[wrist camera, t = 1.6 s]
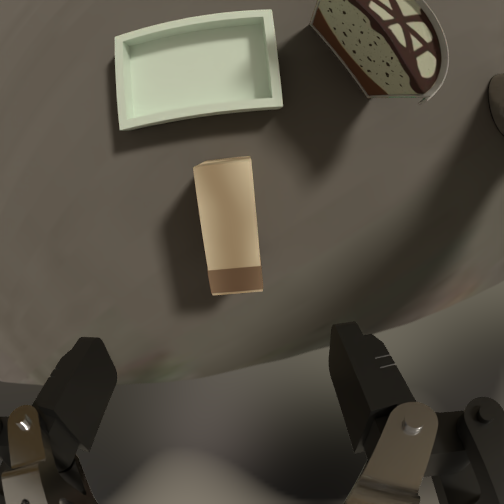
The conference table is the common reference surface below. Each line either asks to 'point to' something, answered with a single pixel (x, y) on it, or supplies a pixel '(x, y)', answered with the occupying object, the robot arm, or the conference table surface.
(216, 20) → the tray
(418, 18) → the food container
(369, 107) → the conference table surface
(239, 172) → the birch block
